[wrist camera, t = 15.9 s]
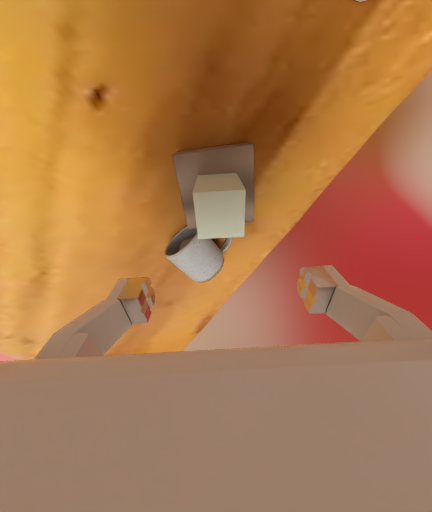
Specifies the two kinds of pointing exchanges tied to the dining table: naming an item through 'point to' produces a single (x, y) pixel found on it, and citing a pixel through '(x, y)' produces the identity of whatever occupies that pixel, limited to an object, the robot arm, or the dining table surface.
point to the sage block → (219, 206)
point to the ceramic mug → (196, 255)
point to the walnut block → (215, 172)
